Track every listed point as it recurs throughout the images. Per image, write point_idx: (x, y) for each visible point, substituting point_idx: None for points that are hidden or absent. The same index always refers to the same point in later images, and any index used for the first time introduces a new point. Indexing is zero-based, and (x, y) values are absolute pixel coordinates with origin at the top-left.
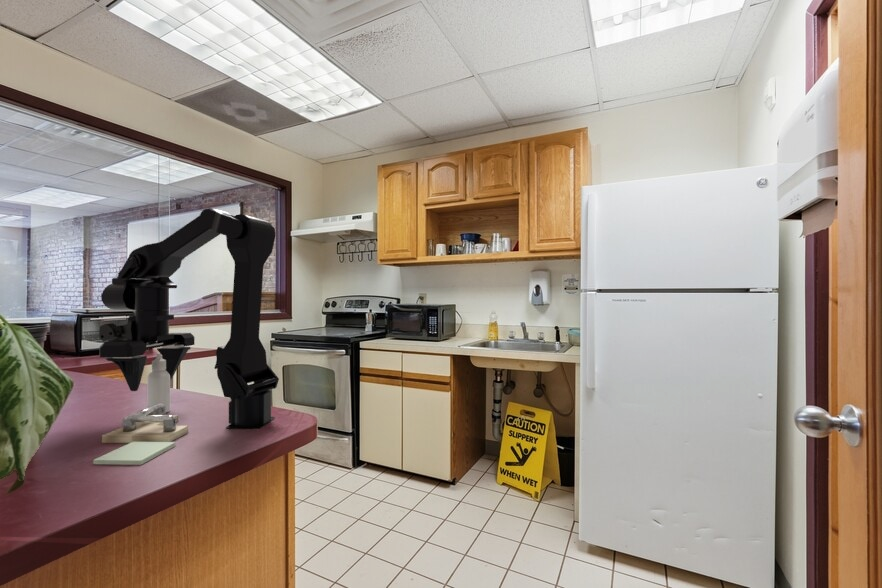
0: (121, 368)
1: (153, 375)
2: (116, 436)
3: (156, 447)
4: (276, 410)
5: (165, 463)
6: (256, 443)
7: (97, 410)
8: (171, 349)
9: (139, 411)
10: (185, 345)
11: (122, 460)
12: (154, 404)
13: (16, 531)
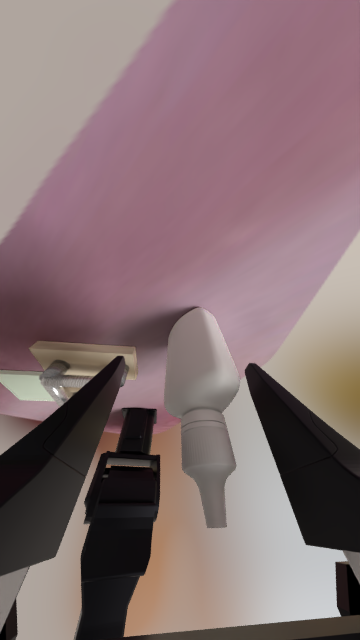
0: (21, 445)
1: (172, 404)
2: (40, 361)
3: (47, 396)
4: (179, 419)
5: (36, 405)
6: None
7: (231, 135)
8: (348, 541)
9: (65, 386)
10: (340, 572)
11: (10, 390)
12: (169, 343)
13: None
